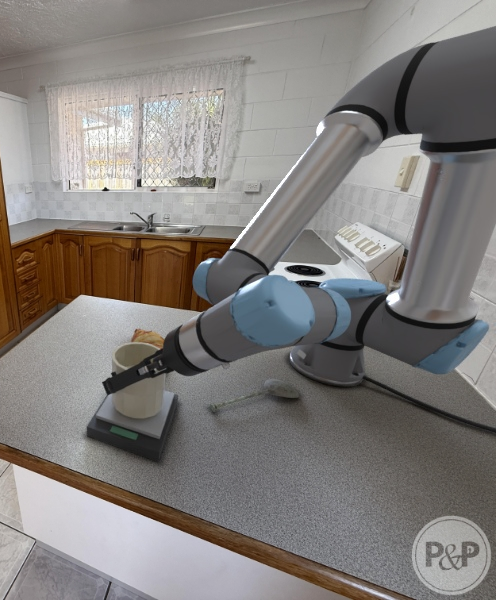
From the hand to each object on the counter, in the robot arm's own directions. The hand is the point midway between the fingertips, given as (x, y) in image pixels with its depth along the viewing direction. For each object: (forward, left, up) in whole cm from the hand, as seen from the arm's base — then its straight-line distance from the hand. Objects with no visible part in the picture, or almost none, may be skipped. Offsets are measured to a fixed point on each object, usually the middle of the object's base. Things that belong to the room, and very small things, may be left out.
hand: (128, 378), depth 64 cm
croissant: (+2, -20, -8) cm, 22 cm away
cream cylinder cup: (-2, +2, -4) cm, 5 cm away
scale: (-2, +3, -8) cm, 8 cm away
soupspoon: (-24, -14, -8) cm, 29 cm away
